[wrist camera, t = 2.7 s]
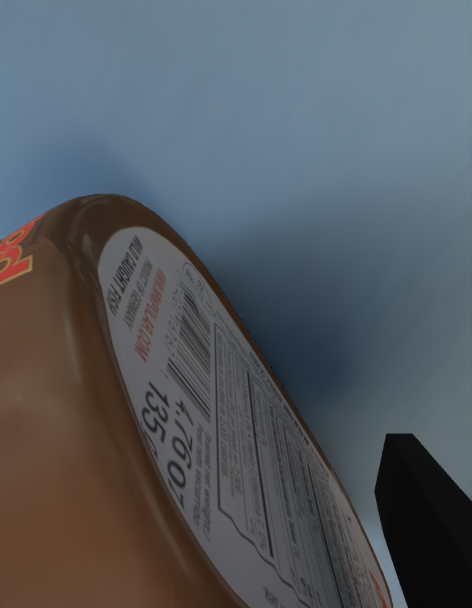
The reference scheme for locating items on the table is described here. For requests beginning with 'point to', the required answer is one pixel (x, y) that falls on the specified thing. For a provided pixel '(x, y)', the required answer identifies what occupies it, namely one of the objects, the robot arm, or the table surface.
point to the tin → (154, 435)
